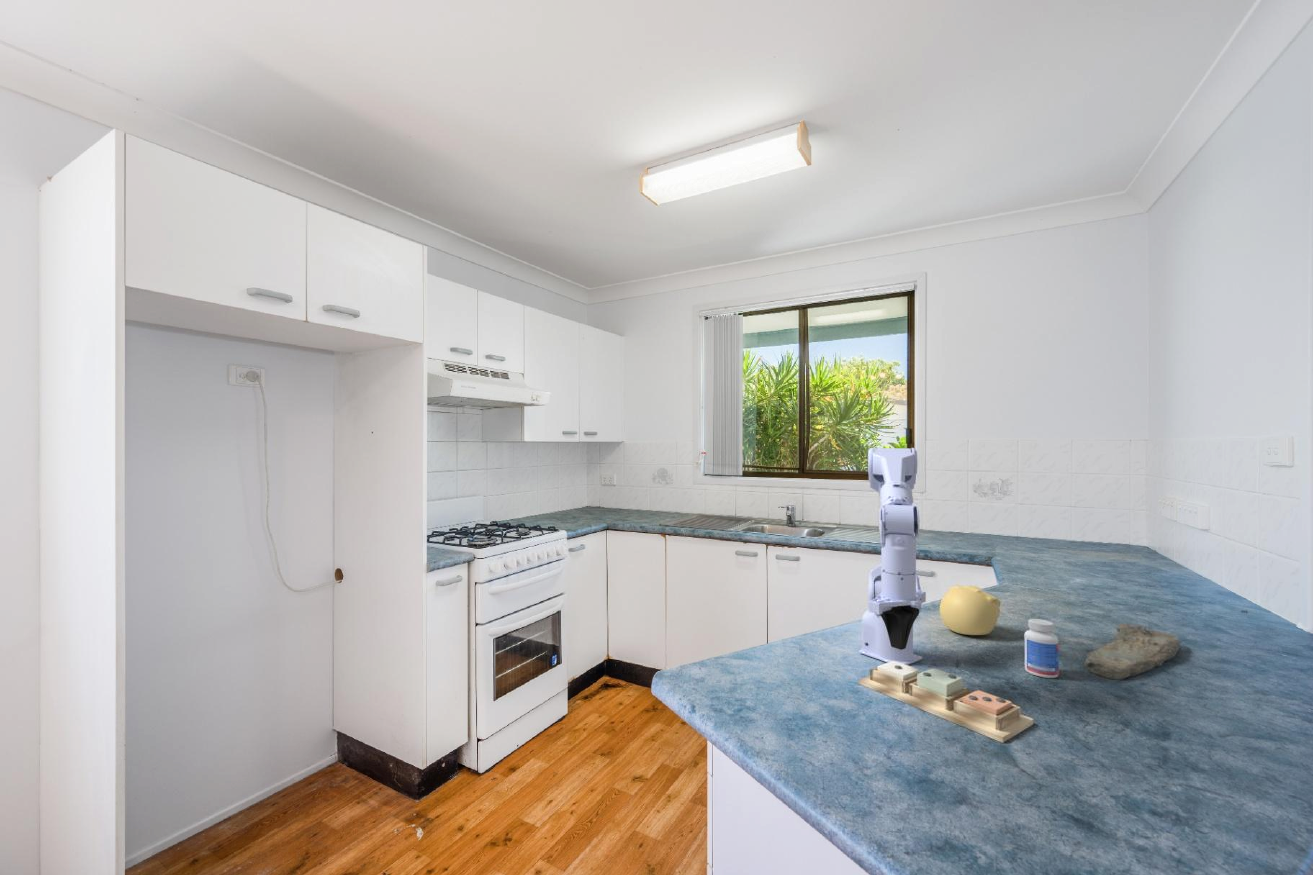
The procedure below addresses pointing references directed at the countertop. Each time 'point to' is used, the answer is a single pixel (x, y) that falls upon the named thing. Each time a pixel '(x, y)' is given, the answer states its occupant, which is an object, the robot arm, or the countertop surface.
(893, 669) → the tile one
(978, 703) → the tile three
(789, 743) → the countertop surface
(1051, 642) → the pill bottle
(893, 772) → the countertop surface
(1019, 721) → the tile board
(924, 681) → the tile two
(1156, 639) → the long grey stone
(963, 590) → the sculpture
